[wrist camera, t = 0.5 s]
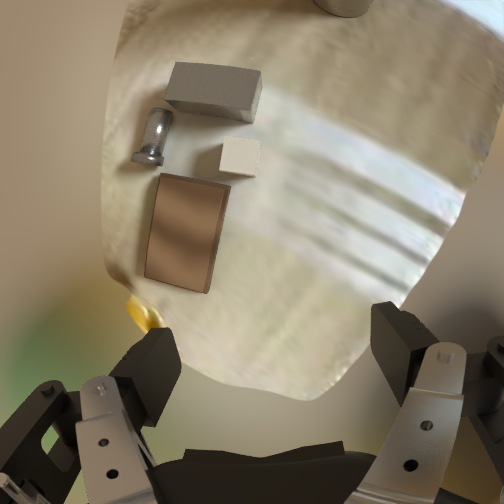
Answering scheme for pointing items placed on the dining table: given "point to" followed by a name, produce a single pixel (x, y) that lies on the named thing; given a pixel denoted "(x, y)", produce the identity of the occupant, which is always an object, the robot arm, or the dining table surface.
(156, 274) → the stand
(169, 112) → the bolt
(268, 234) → the dining table surface
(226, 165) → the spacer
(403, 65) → the dining table surface
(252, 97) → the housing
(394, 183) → the dining table surface
